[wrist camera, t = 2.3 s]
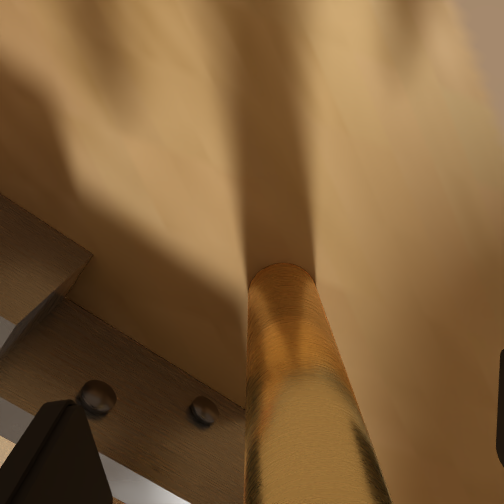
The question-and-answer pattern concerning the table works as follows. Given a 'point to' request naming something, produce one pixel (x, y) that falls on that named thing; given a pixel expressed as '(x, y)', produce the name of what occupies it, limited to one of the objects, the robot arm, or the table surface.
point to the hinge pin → (301, 402)
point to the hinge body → (107, 380)
